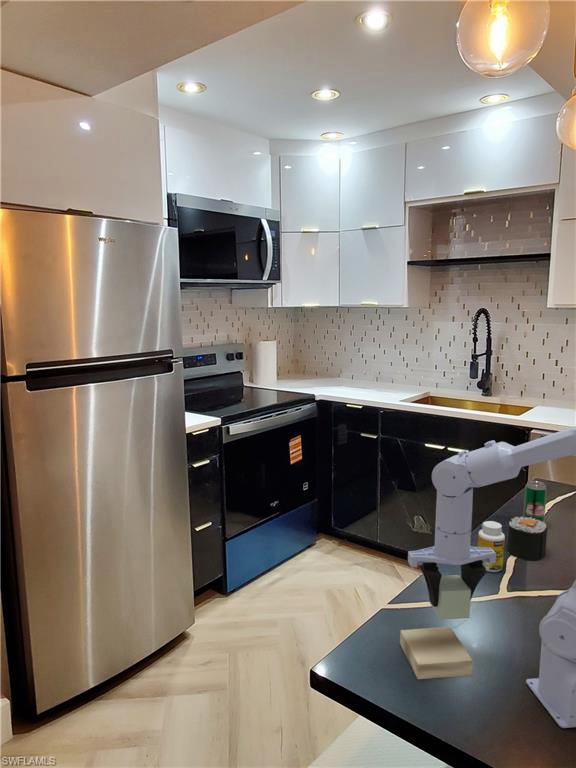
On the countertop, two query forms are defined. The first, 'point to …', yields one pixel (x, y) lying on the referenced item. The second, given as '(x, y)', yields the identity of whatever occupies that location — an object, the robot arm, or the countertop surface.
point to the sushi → (527, 538)
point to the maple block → (435, 653)
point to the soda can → (535, 500)
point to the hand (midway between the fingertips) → (449, 602)
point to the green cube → (453, 598)
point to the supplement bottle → (492, 544)
